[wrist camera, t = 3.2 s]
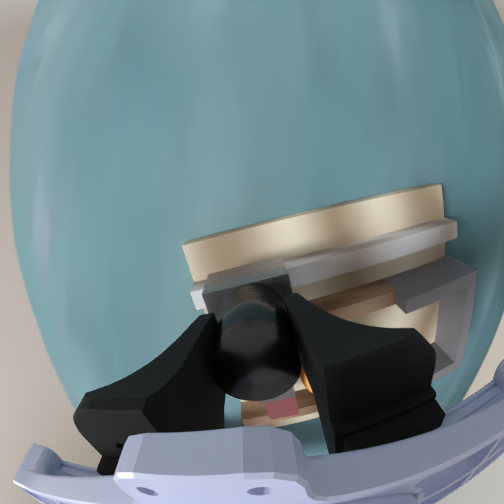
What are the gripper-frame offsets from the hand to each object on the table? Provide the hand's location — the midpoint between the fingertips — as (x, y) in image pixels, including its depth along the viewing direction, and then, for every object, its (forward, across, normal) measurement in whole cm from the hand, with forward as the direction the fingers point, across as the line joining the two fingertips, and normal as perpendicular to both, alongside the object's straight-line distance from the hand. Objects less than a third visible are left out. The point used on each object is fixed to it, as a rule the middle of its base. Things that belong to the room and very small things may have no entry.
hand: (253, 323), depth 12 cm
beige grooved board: (+6, -6, +6) cm, 10 cm away
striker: (+5, 0, +4) cm, 6 cm away
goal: (+5, -12, +7) cm, 15 cm away
